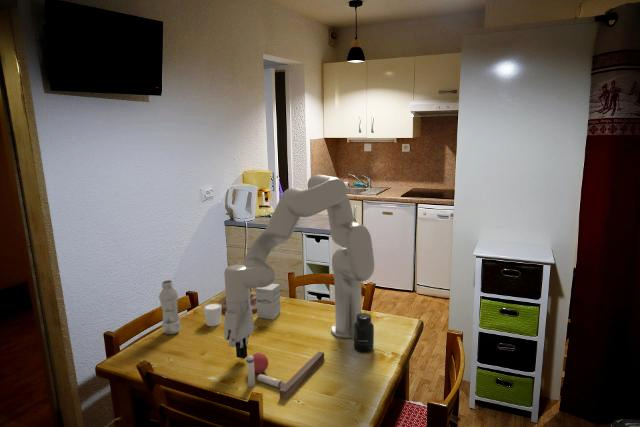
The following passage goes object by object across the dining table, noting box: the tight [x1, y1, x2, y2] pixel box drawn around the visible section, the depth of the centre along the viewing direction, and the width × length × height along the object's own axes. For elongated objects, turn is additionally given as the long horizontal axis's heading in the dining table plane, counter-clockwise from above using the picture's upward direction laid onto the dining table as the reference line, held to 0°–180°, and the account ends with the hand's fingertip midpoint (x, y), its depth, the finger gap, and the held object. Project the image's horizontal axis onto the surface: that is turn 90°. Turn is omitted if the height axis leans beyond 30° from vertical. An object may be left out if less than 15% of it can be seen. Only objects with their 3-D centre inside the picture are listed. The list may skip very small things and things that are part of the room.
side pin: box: [246, 354, 256, 388], centre depth 130 cm, size 2×2×9 cm
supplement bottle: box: [353, 312, 375, 354], centre depth 150 cm, size 7×7×12 cm
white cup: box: [203, 302, 222, 327], centre depth 174 cm, size 7×7×7 cm
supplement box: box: [255, 283, 281, 321], centre depth 179 cm, size 7×7×13 cm
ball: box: [252, 352, 269, 374], centre depth 138 cm, size 6×6×6 cm
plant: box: [216, 288, 257, 314], centre depth 190 cm, size 20×20×11 cm
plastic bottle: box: [158, 279, 182, 335], centre depth 165 cm, size 6×7×20 cm
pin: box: [257, 373, 287, 389], centre depth 131 cm, size 2×2×9 cm
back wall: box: [278, 350, 325, 400], centre depth 134 cm, size 2×24×2 cm, turn 153°
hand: (241, 356), depth 145 cm, fingers closed
